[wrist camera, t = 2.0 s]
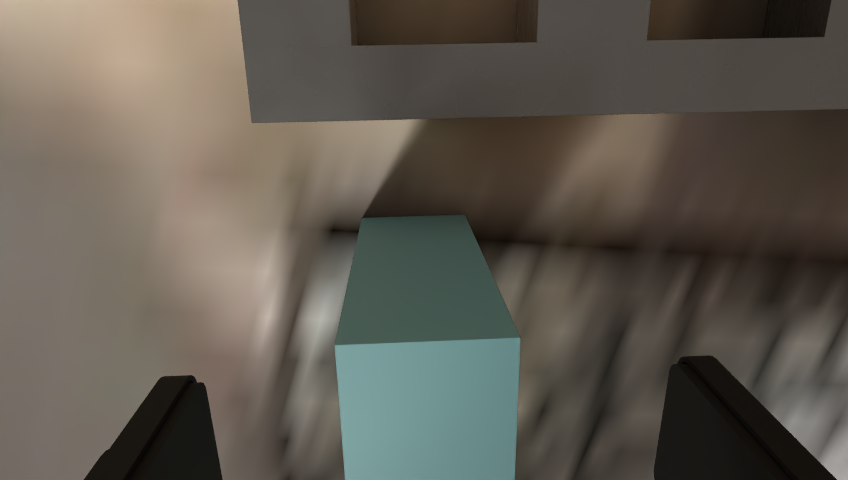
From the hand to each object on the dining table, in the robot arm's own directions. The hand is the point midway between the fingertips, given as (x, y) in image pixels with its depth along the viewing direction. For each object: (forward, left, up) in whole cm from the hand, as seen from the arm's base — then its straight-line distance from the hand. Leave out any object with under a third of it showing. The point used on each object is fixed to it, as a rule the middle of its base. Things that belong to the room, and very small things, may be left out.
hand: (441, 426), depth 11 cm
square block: (-1, 0, -11) cm, 11 cm away
